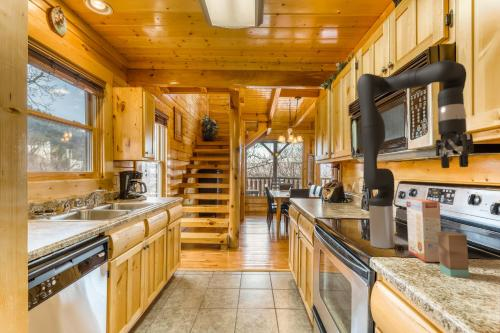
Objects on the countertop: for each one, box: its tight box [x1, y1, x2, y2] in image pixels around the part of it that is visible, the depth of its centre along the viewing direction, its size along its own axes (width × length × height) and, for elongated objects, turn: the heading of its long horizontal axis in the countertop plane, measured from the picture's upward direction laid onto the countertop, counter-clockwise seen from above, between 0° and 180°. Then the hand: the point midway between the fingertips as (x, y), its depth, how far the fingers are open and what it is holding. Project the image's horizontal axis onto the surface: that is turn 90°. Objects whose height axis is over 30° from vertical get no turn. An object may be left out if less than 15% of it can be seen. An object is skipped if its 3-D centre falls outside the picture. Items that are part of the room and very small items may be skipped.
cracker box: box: [406, 198, 442, 263], centre depth 96 cm, size 14×6×21 cm, turn 168°
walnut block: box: [438, 231, 470, 278], centre depth 79 cm, size 5×5×12 cm
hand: (454, 167), depth 88 cm, fingers open, 8 cm apart
